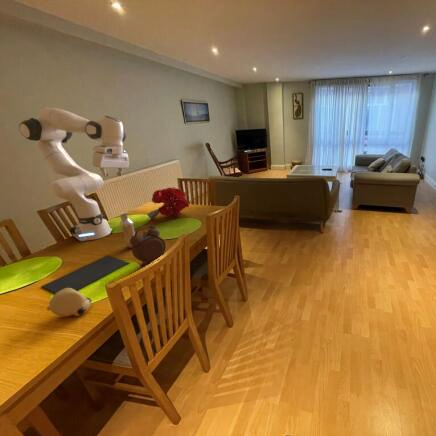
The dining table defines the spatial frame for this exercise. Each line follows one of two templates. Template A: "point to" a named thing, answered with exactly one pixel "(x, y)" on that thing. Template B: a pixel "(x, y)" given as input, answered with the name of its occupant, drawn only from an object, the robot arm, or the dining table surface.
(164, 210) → the bouquet
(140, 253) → the alarm clock
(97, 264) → the mat
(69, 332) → the dining table surface
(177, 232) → the dining table surface
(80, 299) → the beige rounded lump
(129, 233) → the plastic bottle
